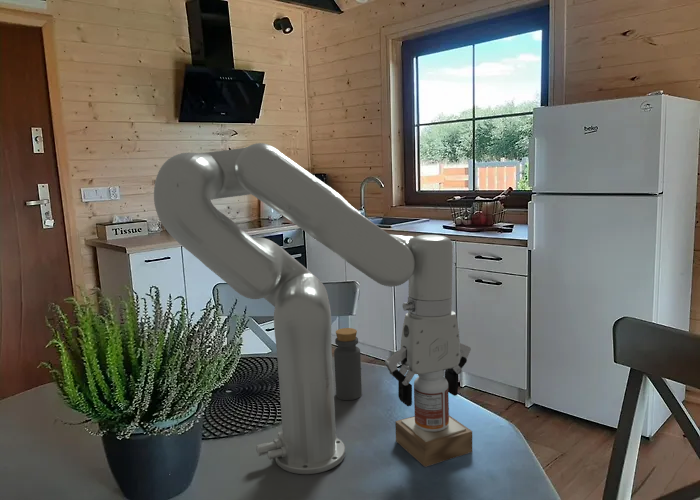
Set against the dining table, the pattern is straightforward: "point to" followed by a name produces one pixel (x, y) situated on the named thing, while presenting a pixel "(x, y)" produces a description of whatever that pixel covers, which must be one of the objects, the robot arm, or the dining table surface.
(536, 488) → the dining table surface
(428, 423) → the pill bottle
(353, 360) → the bottle
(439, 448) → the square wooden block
